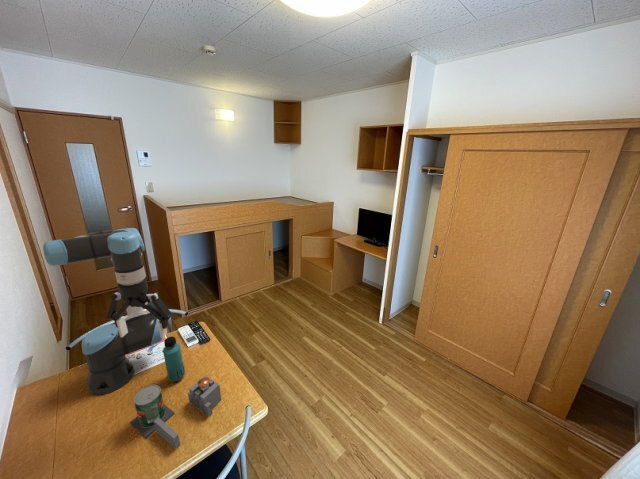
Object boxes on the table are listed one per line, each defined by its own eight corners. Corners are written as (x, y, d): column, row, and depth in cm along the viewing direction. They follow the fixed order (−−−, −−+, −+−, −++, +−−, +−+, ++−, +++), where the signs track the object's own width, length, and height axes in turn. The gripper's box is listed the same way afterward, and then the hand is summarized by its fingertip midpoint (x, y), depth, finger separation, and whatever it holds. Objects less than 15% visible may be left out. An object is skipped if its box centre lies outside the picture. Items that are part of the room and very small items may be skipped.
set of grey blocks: (156, 431, 88) (152, 414, 86) (205, 388, 105) (202, 373, 102) (176, 449, 83) (172, 431, 81) (224, 401, 100) (222, 386, 97)
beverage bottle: (178, 385, 105) (171, 346, 99) (164, 382, 107) (156, 343, 100) (189, 373, 112) (182, 335, 105) (175, 370, 113) (168, 332, 106)
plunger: (197, 396, 97) (195, 383, 95) (206, 388, 101) (204, 375, 98) (204, 401, 96) (202, 388, 93) (213, 393, 99) (212, 380, 97)
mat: (130, 423, 91) (129, 421, 90) (158, 400, 99) (158, 399, 99) (146, 438, 86) (145, 437, 86) (174, 413, 94) (174, 412, 94)
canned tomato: (134, 422, 90) (127, 399, 87) (155, 403, 97) (149, 381, 94) (150, 432, 88) (144, 408, 84) (170, 411, 95) (165, 389, 91)
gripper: (82, 284, 78) (98, 341, 85) (165, 287, 79) (175, 343, 86) (101, 273, 85) (115, 327, 92) (177, 276, 86) (185, 328, 93)
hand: (144, 335), depth 89 cm, fingers open, 13 cm apart
